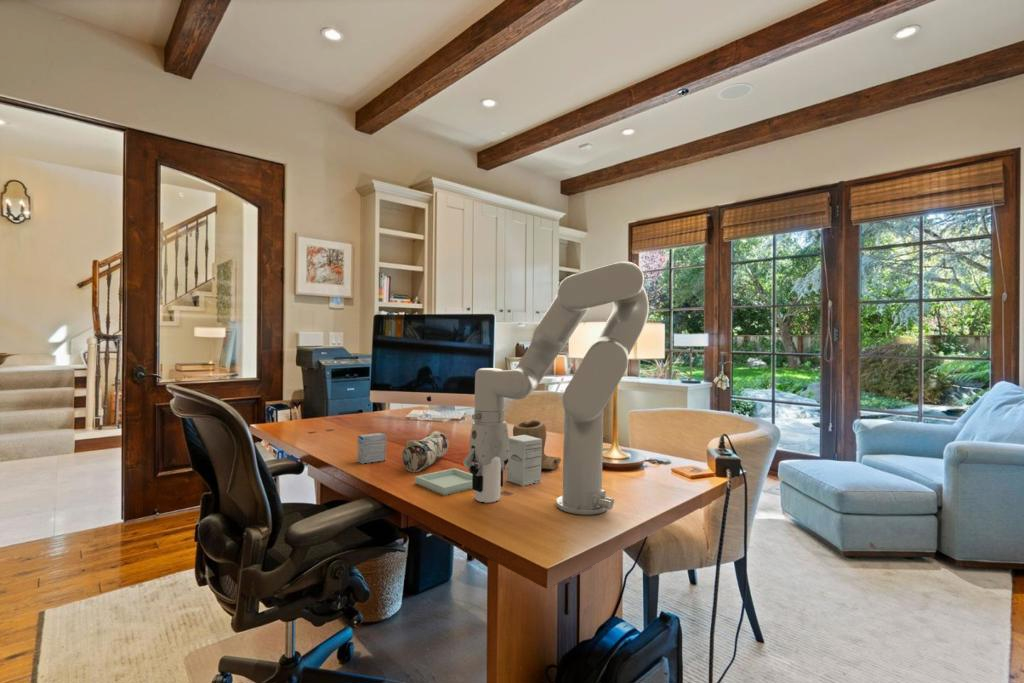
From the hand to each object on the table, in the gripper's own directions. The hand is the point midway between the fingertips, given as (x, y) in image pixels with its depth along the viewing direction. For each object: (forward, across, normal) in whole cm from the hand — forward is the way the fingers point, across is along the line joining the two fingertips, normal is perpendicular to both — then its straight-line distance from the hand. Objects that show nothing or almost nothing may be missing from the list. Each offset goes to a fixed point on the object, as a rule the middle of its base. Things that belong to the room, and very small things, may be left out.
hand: (487, 487), depth 123 cm
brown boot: (+3, +31, +13) cm, 34 cm away
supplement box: (+3, +18, +5) cm, 19 cm away
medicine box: (+3, -4, +53) cm, 53 cm away
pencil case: (+3, +8, +39) cm, 40 cm away
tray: (+3, 0, +16) cm, 16 cm away
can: (+3, 0, 0) cm, 3 cm away
